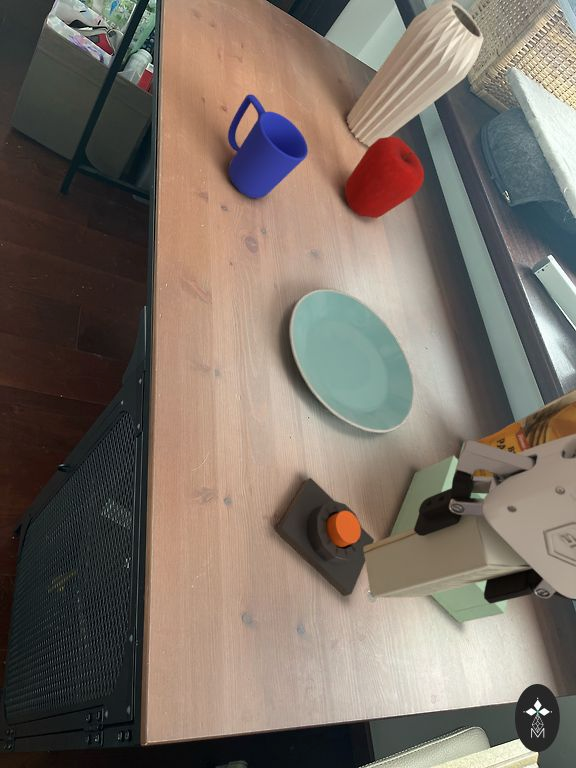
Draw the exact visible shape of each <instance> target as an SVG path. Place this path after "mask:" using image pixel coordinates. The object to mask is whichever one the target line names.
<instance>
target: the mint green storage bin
mask: <svg viewBox="0 0 576 768" xmlns="http://www.w3.org/2000/svg"><path fill="white" fill-rule="evenodd" d="M458 459H459V458H457V457H456V456H455V455H451V456H449V457H447V458H445V459H442V460H441V461H438V462H436V463H434V464H432V465H430V466H427V467H425V468H423V469H421V470H418V471H416V472H415V473H414V475H413V477H412V480H411V482H410V485H409V487H408V489H407V492H406V494H405V497H404V500H403V502H402V504H401V507H400V509H399V512H398V515H397V517H396V520H395V522H394V525H393V527H392V530H391V533H390V535H389V537H391V536H393V535H396V534H399V533H402V532H404V531H407V530H410V529H413V528H414V527H415V524H416V522H417V519H418V516H419V508H420V505H421V504H422V502H423V501H424V500H425V499H427V498H429V497H431V496H434V495H436V494H439V493H441V492H443V491H446V490H448V489H451V488H452V481H453V477H454V473H455V470H456V466H457V463H458ZM486 495H487V494H483V493H471V497H470V498H480V499H485V497H486ZM486 581H487V580H485V581H481V582H477V583H473V584H469V585H466V586H462V587H458V588H454V589H450V590H446V591H442V592H438V593H434V594H430V595H429V596H431V597H432V598H433V599H434V600H435V601H436V602H437V603H438V604H439V606H441V607H442V608H443V609H444V610H445V611H446V612H447V613H448V614H449V615H451V617H453V619H454V620H455V621H456V622H457V623H459V624H461V623H467V622H471V621H474V620H479V619H485V618H488V617H494V616H499V615H503V614H506V609H507V604H508V600H504V601H500V602H496V603H492V604H490V603H489V602H488V601H487V600H485V599H484V591H485V586H486Z"/></svg>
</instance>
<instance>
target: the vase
mask: <svg viewBox="0 0 576 768" xmlns="http://www.w3.org/2000/svg"><path fill="white" fill-rule="evenodd" d="M483 35H484V34H483V32H482V31H481V28H480V27H479V26H478V24H477V22H476V20H474V19H473V16H472V15H470V14H469V12H468V11H467V9H465V8H464V7H463V6H462V4H459V3H458V2H457V1H456V0H443V1H440V2H438V3H436V4H433V5H431V6H429V7H427V8H426V9H425V10H423V11H422V12H420V13H419V14H418V15H415V17H414V18H413V19H412V20H411V22H410V24H409V25H408V26H407V28H406V29H405V30H404V32H403V34H401V37H400V38H399V40H398V41H397V43H396V44H395V46H394V47H393V48H392V50H391V52H390V53H389V54H388V55H387V57H386V59H385V60H384V61H383V63H382V64H381V66H380V68H379V69H378V70H377V72H376V73H375V75H374V76H373V77H372V79H371V80H370V82H369V84H368V85H367V87H366V88H365V90H364V91H363V92H362V94H361V95H360V97H359V98H358V100H357V101H356V103H355V104H354V106H353V107H352V109H351V110H350V112H349V113H348V115H347V116H346V120H347V121H346V123H347V125H348V126H347V128H349V130H350V133H352V134H353V135H354V137H355V138H356V139H358V141H359V143H361V142H362V144H363V145H364V146H367V147H368V148H369V147H370V146H371V145H372V144H373V143H375V142H376V141H377V140H378V139H379V138H386V137H391V136H392V135H393V134H395V133H396V132H397V131H398V130H400V129H401V128H403V126H405V125H406V124H407V123H409V122H410V121H411V120H413V119H414V118H415V117H417V116H418V115H419V114H420V113H421V112H423V111H424V110H425V109H426V108H429V106H430V105H432V104H433V103H435V102H436V101H437V100H438V99H440V98H441V97H442V96H443V95H445V94H446V93H447V92H448V91H450V90H451V89H453V88H454V87H455V86H456V85H458V84H459V83H460V82H462V81H463V80H464V79H465V78H466V76H467V75H468V73H469V72H470V71H471V69H472V67H473V66H474V65H475V63H476V61H477V59H478V57H479V54H480V53H481V48H482V46H483V42H484V39H485V38H484V36H483Z"/></svg>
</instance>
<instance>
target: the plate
mask: <svg viewBox="0 0 576 768" xmlns="http://www.w3.org/2000/svg"><path fill="white" fill-rule="evenodd" d="M288 331H289V332H288V334H289V336H288V337H289V344H290V348H291V353H292V356H293V360H294V362H295V364H296V367H297V369H298V372H299V373H300V376H301V377H302V379H303V382H304V383H305V384H306V386H307V387H308V389H309V390H310V391H311V393H312V394H313V396H315V398H316V400H318V401H319V403H321V405H323V406H324V407H325V408H326V409H327V410H328V411H329V412H330V413H331V414H333V415H334V416H335V417H336V418H338V419H340V420H341V421H342V422H344V423H345V424H347V425H349V426H352V427H354V428H357V429H359V430H362V431H365V432H370V433H379V434H383V433H391V432H392V431H395V430H397V429H399V428H400V427H402V426H403V425H404V424H405V423H406V421H408V419H409V417H410V415H411V413H412V410H413V408H414V403H415V393H416V392H415V391H416V390H415V381H414V375H413V372H412V367H411V365H410V361H409V359H408V357H407V355H406V353H405V351H404V349H403V347H402V345H401V343H400V342H399V340H398V338H397V337H396V335H395V334H394V332H393V331H392V330H391V328H390V327H389V325H388V324H387V323H386V322H385V321H384V319H383V318H381V316H380V315H378V313H376V311H375V310H373V309H372V308H371V307H369V305H367V304H366V303H364V302H363V301H362V300H360V299H358V298H356V297H354V296H352V295H350V294H348V293H346V292H343V291H340V290H335V289H327V288H324V289H323V288H321V289H315V290H312V291H309V292H307V293H306V294H304V295H302V296H301V297H300V298H299V299H298V301H297V302H296V304H294V307H293V309H292V312H291V314H290V318H289V327H288Z"/></svg>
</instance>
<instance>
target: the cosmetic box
mask: <svg viewBox="0 0 576 768" xmlns="http://www.w3.org/2000/svg"><path fill="white" fill-rule="evenodd" d="M363 549H364V556H365V567H366V573H367V580H368V586H369V592H370V593H369V594H370V596H371V598H376V599H377V598H378V599H379V598H380V599H381V598H382V599H383V598H384V599H387V598H388V599H390V598H392V599H395V598H396V599H400V598H402V599H403V598H422V597H426V596H431V595H430V594H434V593H438V592H442V591H446V590H450V589H454V588H458V587H462V586H466V585H469V584H473V583H477V582H481V581H485V580H489V579H493V578H497V577H501V576H505V575H509V574H513V573H517V572H521V571H525V570H529V569H532V567H531V566H530V565H529V564H528V563H527V562H526V561H525V560H524V559H523V558H522V557H521V556H520V555H519V554H518V553H517V552H516V551H515V550H514V549H513V548H512V547H511V546H510V545H509V544H508V543H507V542H506V541H505V540H504V539H503V538H502V537H501V536H500V535H499V534H498V533H497V532H496V531H495V530H494V529H493V528H492V527H491V525H490V524H489V523H488V521H487V520H486V518H485V516H472V515H461V519H460V521H459V522H458V523H457V524H455V525H452V526H450V527H447V528H444V529H441V530H438V531H436V532H433V533H430V534H427V535H425V536H422V535H421V536H419V535H418V534H417V533H416V532H415V531H414V528H413V529H410V530H407V531H404V532H402V533H399V534H396V535H393V536H391V537H390V536H388V537H385V538H383V539H380V540H377V541H374V542H373V543H372V544H369V545H366V546H364V547H363Z"/></svg>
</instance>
